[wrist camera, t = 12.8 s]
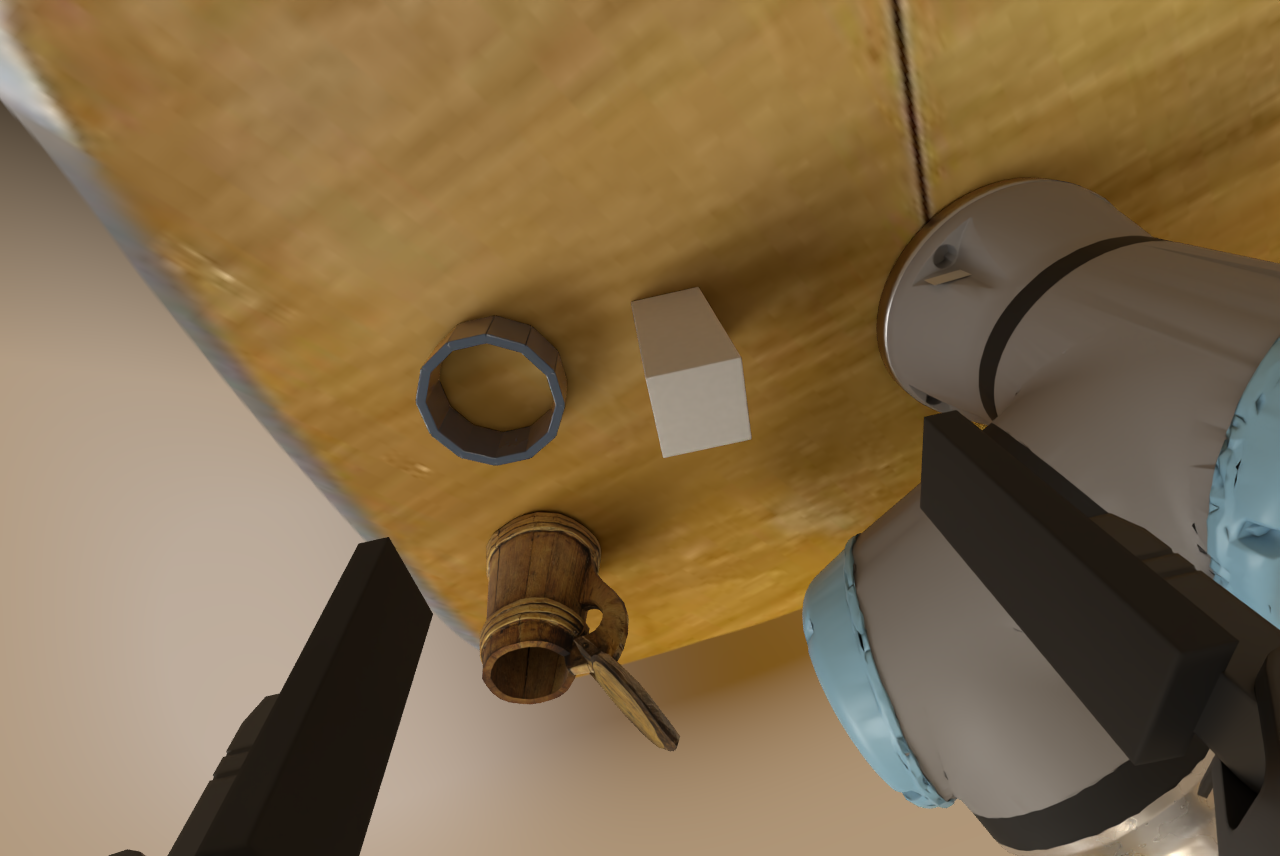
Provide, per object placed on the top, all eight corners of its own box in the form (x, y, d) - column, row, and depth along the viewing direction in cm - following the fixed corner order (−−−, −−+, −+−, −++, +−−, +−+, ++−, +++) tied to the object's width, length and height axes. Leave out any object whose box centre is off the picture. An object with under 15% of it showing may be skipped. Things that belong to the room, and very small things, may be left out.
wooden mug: (666, 565, 47) (702, 791, 31) (513, 607, 48) (474, 847, 32) (634, 481, 43) (657, 694, 27) (468, 530, 44) (396, 762, 28)
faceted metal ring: (544, 303, 36) (539, 321, 33) (579, 423, 40) (578, 448, 37) (410, 333, 36) (393, 354, 33) (459, 449, 40) (448, 476, 37)
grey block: (698, 286, 36) (741, 357, 25) (708, 350, 38) (752, 439, 27) (630, 301, 36) (645, 378, 26) (644, 364, 38) (663, 458, 28)
